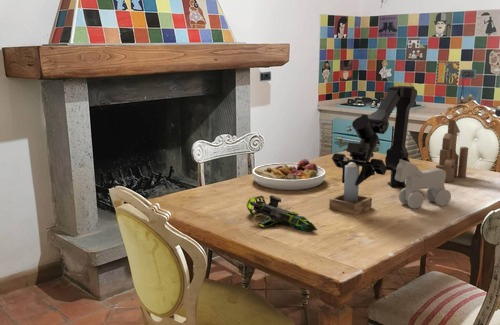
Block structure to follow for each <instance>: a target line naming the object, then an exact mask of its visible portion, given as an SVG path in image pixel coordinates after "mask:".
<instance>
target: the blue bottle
mask: <svg viewBox="0 0 500 325" xmlns="http://www.w3.org/2000/svg"><path fill="white" fill-rule="evenodd" d="M359 174H360V166H358V165H356V164H355V163H354V162H350V163H349V164H348V165H345V178H344V183H343V193H344V201H346V202H350V203H358V195H359V187H360V186H359V185H360V184H359V185H358V186H356V185H355V183H356V181H357V178H358V176H359Z"/></svg>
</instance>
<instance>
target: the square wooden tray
mask: <svg viewBox="0 0 500 325" xmlns="http://www.w3.org/2000/svg"><path fill="white" fill-rule="evenodd" d="M372 202H373V199H372V197H371V196H364V195H359V194H358V203H350V202H346V201H344V192H343V193H340V194H338V195H336V196H333V197H332V198H329V204H328V206H329V207H328V209H329V210H332V211H338V212H342V213H347V214H351V215H355V216H358V215H359V214H362V213H364V212H365V211H368V210H369V209H371V208H372V204H373V203H372Z"/></svg>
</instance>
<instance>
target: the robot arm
mask: <svg viewBox="0 0 500 325" xmlns="http://www.w3.org/2000/svg"><path fill="white" fill-rule="evenodd" d="M417 97H418V90H417V89H416V88H415V86H411V85H409V86H408V85H398V86H397V85H396V86H395V85H391V86H389V87H388V88H387V93H386V94H385V96H384V97H383V100H382V101H381V103H380V105H379V107H378V108H377V110H376V111H374V112H372V113H370V114H369V115H368V114H363V113H362V114H361V116H359V117H356V119H354V120H353V121H352V123H351V125H352V128H353V130H354V132H355V133H356V136H357V138H358V139H360V140H359V142H358V143H357V142H348V143H347V147H346V152H347V153H349V157H351V158H349V157H348V156H346V154H345V153H339V152H336V153H333V154H332V157H331V160H332V161H333V163H334V165H335V167H336V168H340V169H342V175H341V183H342V184H344V178H345V165H348V164H349V163H350V162H354V163H355V164H356V165H358V166H359V167H361V170H360V171H359V176H358V178H357V181H356V183H355V185H356V186H358V185H360V184H362V183H363V182H365V181H366V180H368V178H370V177H372V176H375V175H381V176H384V175H385V174H387V173H386V172H387V171H390V181H388V182H387V185H388V186H390V187H391V188H406V180H405V181H404V182H399V181H397V180H395V175H396V168H397V165H398V164H399V160H400V159H402V160H404V161H407V162H410V163H411V160H410V158H409V152H408V149H407V148H406V141H407V135H408V134H407V133H408V125H409V117H410V111H411V110H410V109H412V107H413V106H414V104H416V99H417ZM395 108H396V112H395V121H394V128H393V129H394V130H393V138H392V145H391V146H390V148H388V149H387V150H386V156H385V160H383V159H380V158H374V155H375V154H374V151H375V149H376V147H377V145H380V144H381V142H380V137H379V136H378V134H379V135H384V134H385V133H386V132H387V130H388V129H389V125H390V122H389V119H390V116H391V114H392V113H393V111H394V110H395ZM384 162H385V163H384ZM358 187H359V186H358Z"/></svg>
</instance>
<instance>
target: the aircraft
mask: <svg viewBox="0 0 500 325" xmlns="http://www.w3.org/2000/svg"><path fill="white" fill-rule="evenodd" d="M268 197H269V203H268V204H267V202H266V200H265V197H264V196H263V195H260V196H255V197H251V198H249V199H248V201H247V203H246V208H247V210H248V212H249V213H250V214H251V216H252V217H255V215H256V214H261V215H263V216H267V217H266V218H264V219H263V220H261V221H260V222H259V223H257V226H259V227H262V228H267V227H269V226H272V227H275V228H277V226H278V223H281V224H283V225H285V226H287V227H291V228H292V227H293V228H294V229H296V230H299V231H304V232H305V231H306V232H314V231H318V228H317V227H316V226H315V224H314V223H313V222H310V221H309V219H307V218H306V217H305V216H301V215H300V213H297V212H294V211H290V210H287V209H283V208H281V207H279V203H282V198H280V197H277V196H274V195H269V196H268Z"/></svg>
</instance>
